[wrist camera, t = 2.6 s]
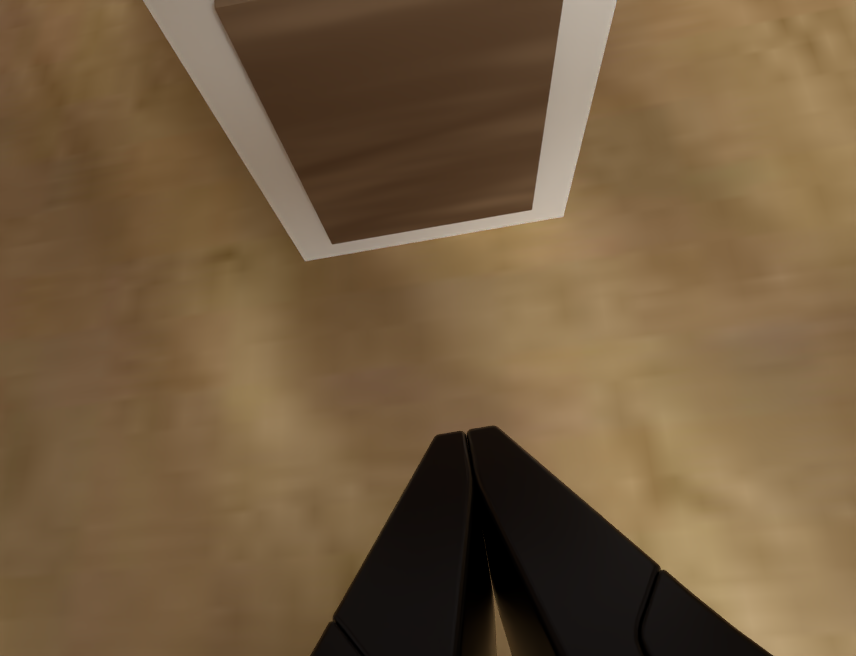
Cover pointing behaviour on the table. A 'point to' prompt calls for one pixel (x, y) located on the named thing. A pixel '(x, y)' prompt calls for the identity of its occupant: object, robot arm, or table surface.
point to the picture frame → (397, 108)
